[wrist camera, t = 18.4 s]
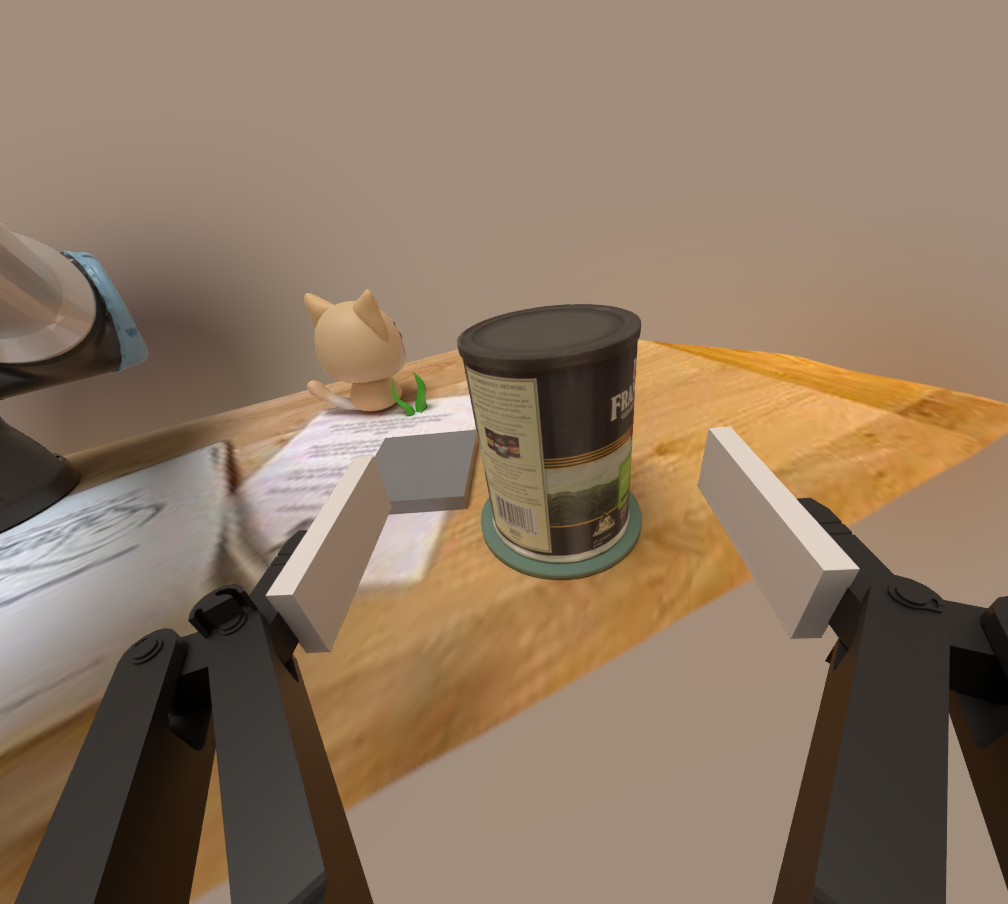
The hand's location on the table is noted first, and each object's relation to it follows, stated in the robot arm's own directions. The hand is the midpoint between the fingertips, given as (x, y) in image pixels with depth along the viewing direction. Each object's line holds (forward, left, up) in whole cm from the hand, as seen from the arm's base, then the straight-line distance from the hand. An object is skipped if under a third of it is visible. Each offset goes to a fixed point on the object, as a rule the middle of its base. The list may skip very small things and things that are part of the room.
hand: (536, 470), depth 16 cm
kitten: (-38, -11, -12) cm, 42 cm away
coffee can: (-9, +4, -11) cm, 15 cm away
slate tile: (-14, -8, -11) cm, 20 cm away
